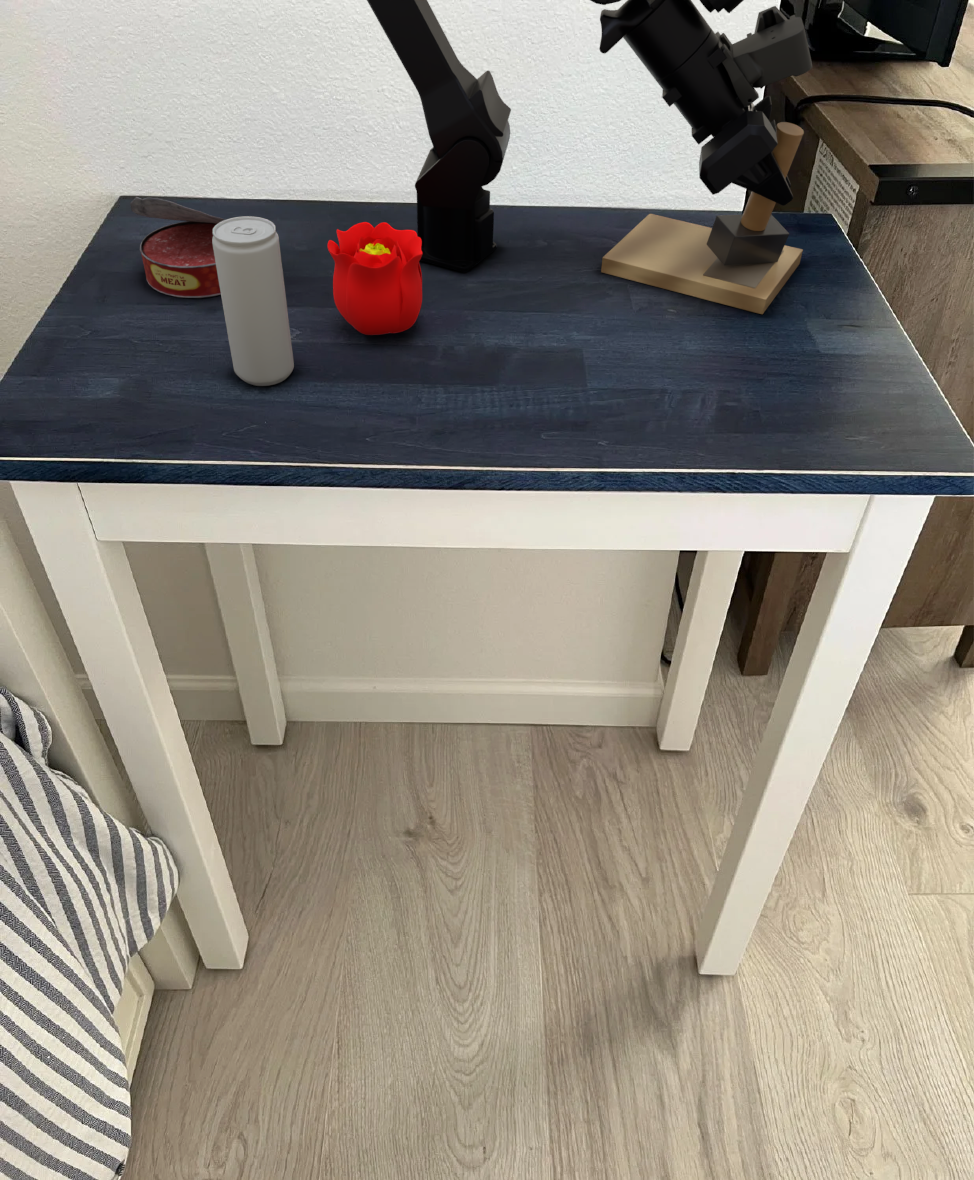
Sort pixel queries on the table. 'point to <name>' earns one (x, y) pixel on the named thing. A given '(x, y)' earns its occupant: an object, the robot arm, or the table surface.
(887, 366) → the table surface
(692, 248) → the cutting board
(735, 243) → the hammer
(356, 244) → the flower
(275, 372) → the beverage can
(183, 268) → the canned food
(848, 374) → the table surface
